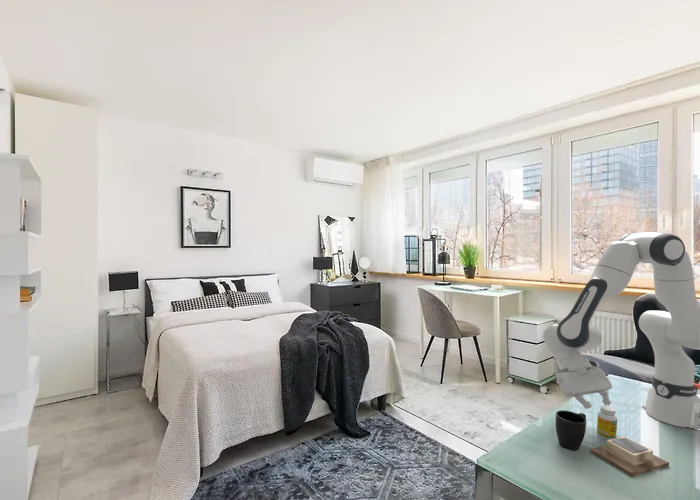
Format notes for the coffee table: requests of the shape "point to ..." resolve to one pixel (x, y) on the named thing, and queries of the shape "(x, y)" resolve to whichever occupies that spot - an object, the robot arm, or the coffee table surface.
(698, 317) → the robot arm
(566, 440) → the mug
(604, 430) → the supplement bottle
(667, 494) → the coffee table surface
